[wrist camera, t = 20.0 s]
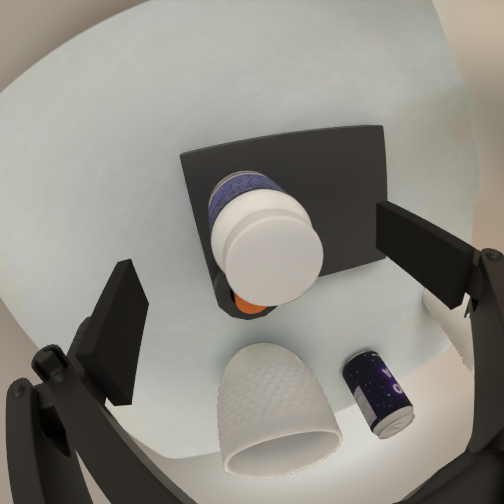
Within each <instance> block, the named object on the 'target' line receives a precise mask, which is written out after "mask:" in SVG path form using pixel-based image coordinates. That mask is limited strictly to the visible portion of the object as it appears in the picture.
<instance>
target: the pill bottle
mask: <svg viewBox="0 0 504 504" xmlns="http://www.w3.org/2000/svg"><path fill="white" fill-rule="evenodd" d="M208 215H209V226H210V238H211V246H212V251H213V255H214V258H215V260H216V262H217V264H218V265H219V267H220V268H221V270H222V271H223V272H224V273H225V274H226V278H227V280H228V283H229V285H230V287H231V288H232V290H233V291H234V292H235V293H236V294H237V295H238V296H239V297H240V298H242V299H243V300H245V301H247V302H249V303H251V304H254V305H259V306H277V305H282V304H285V303H288V302H291V301H293V300H295V299H297V298H298V297H300V296H301V295H303V294H304V293H305V292H306V291H307V290H308V289H309V288H310V287H311V286H312V285H313V283H314V282H315V280H316V279H317V277H318V275H319V273H320V270H321V267H322V263H323V248H322V244H321V241H320V239H319V237H318V235H317V234H316V232H315V231H314V230H313V228H312V224H311V221H310V218H309V216H308V214H307V212H306V211H305V209H304V208H303V207H302V206H301V205H300V204H299V203H298V202H297V201H296V200H295V199H294V198H293V197H291V196H290V195H289V194H288V193H287V192H285V191H284V190H283V189H282V188H280V187H279V186H278V185H277V184H276V183H275V182H273V181H272V180H271V179H270V178H268V177H267V176H265V175H263V174H261V173H258V172H254V171H240V172H236V173H233V174H231V175H229V176H227V177H225V178H224V179H223V180H221V181H220V182H219V183H218V184H217V186H216V187H215V188H214V190H213V192H212V194H211V196H210V200H209V206H208Z"/></svg>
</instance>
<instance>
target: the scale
mask: <svg viewBox="0 0 504 504" xmlns="http://www.w3.org/2000/svg"><path fill="white" fill-rule="evenodd" d="M180 159H181V163H182V168H183V172H184V176H185V181H186V185H187V189H188V193H189V197H190V201H191V205H192V209H193V213H194V217H195V221H196V225H197V229H198V233H199V236H200V240H201V244H202V248H203V251H204V255H205V259H206V262H207V266H208V270H209V273H210V277H211V280H212V284H213V287H214V291H215V295H216V299H217V302H218V305H219V307H220V308H221V309H223V310H224V311H225V312H226V313H227V314H229V315H230V316H232V317H235V318H240V319H245V320H250V319H255V318H259V317H263V316H266V315H267V314H268V313H270V312H271V311H272V310H273V309H275V308H276V307H277V306H278V305H277V306H267V307H266V308H265V309H264V310H262V311H261V312H258V313H254V314H249V313H245V312H242V311H241V310H240V309H239V308H238V307H237V305H236V302H235V298H234V293H233V290H232V288H231V287H230V285H229V283H228V280H227V278H226V274H225V273H224V272H223V271H222V270H221V268H220V267H219V265H218V264H217V262H216V260H215V258H214V255H213V251H212V246H211V238H210V226H209V215H208V206H209V200H210V196H211V194H212V192H213V190H214V188H215V187H216V186H217V184H218V183H219V182H220V181H221V180H223V179H224V178H225V177H227V176H229V175H231V174H233V173H236V172H240V171H254V172H258V173H261V174H263V175H265V176H267V177H268V178H270V179H271V180H272V181H273V182H275V183H276V184H277V185H278V186H279V187H280V188H282V189H283V190H284V191H285V192H287V193H288V194H289V195H290V196H291V197H293V198H294V199H295V200H296V201H297V202H298V203H299V204H300V205H301V206H302V207H303V208H304V209H305V211H306V212H307V214H308V216H309V218H310V221H311V224H312V228H313V230H314V231H315V232H316V234H317V235H318V237H319V239H320V241H321V244H322V248H323V263H322V267H321V270H320V273H319V275H318V277H321V276H325V275H328V274H332V273H336V272H339V271H343V270H346V269H350V268H354V267H357V266H361V265H364V264H368V263H371V262H375V261H378V260H381V259H385V258H386V255H385V254H383V253H382V252H381V251H380V250H378V249H377V248H376V202H381V201H386V200H387V172H386V154H385V141H384V130H383V126H382V125H361V126H346V127H334V128H323V129H313V130H305V131H297V132H289V133H282V134H275V135H269V136H262V137H256V138H251V139H245V140H240V141H234V142H229V143H224V144H219V145H215V146H210V147H206V148H201V149H197V150H193V151H189V152H185V153H182V154H181V155H180Z"/></svg>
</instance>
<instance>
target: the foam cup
mask: <svg viewBox="0 0 504 504" xmlns="http://www.w3.org/2000/svg"><path fill="white" fill-rule="evenodd" d="M469 298H470V296H469V295H468V294H467V293H465V295H464V299H463V302H462V305H460V306H458V307H456V308H455V309H453V310H450V309H449V308H448V307H447V306H446V305H445V304H443V303H442V302H441V301H440V300H439V299H438V298H437V297H436V296H434V295H433V294H432V293H431V292H430V291H429V290H427V289H426V288H425V289H424V291H423V302H424V304H425V305H426V306H427V308H428V310H429V311H430V312H431V314H432V315H433V317H434V318H435V319H436V321H437V322H438V323H439V325H440V326H441V328H442V329H443V330H444V332H445V333H446V335H447V336H448V338H449V339H450V341H451V342H452V344H453V345H454V347H455V348H456V349H457V351H458V353H459V354H460V356H461V357H462V360H463V363H464V364H465V365H466V366H467V368H468V369H469V370H470V371H471V372H472V373H473V374H474V353H473V340H472V330H471V321H470V318H469V316H470V314H469V313H468V314H467V316H466V318H464V314H465V311H466V308H467V304H468V301H469Z"/></svg>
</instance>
